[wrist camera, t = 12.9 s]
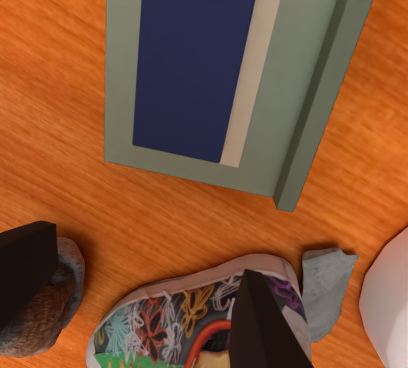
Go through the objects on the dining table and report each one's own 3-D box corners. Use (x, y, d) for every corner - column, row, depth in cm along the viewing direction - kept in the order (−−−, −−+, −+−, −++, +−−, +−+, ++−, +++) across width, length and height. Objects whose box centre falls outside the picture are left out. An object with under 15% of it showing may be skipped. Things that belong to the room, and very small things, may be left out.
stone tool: (280, 339, 21) (325, 326, 23) (292, 358, 20) (339, 342, 21) (297, 242, 18) (348, 233, 19) (312, 255, 16) (367, 245, 18)
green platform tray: (124, 151, 18) (89, 168, 14) (136, -100, 12) (86, -197, 8) (279, 184, 17) (293, 213, 13) (362, -65, 12) (430, -151, 8)
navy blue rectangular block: (225, 147, 14) (220, 169, 10) (159, 133, 14) (128, 149, 10) (268, -52, 10) (289, -142, 6) (180, -66, 10) (146, -162, 6)
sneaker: (83, 310, 25) (-4, 434, 16) (265, 224, 19) (296, 346, 10) (127, 355, 27) (72, 489, 17) (307, 290, 20) (366, 446, 11)
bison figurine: (87, 320, 25) (1, 451, 16) (26, 297, 25) (-95, 415, 16) (105, 234, 21) (0, 348, 12) (31, 206, 21) (-134, 298, 12)
